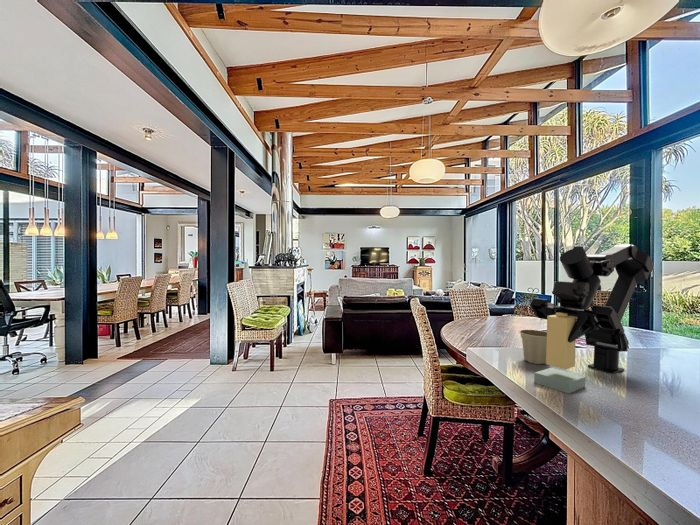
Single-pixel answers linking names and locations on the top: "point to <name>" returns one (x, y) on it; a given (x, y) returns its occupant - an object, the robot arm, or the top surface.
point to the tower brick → (560, 341)
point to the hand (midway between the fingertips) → (558, 339)
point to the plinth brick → (559, 380)
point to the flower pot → (534, 345)
